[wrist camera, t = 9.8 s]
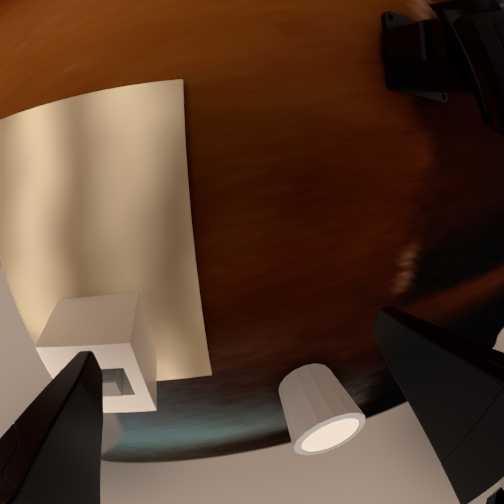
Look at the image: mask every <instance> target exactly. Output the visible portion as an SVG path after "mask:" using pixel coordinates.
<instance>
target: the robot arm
mask: <svg viewBox="0 0 504 504" xmlns="http://www.w3.org/2000/svg"><path fill="white" fill-rule="evenodd" d="M429 5H430V6H431V8H432V10H433V11H435V12H436V14H437V16H438V17H435V18H431V19H426V20H421V21H420V20H419V21H414V20H412V19H409V18H407V17H404V16H401V15H399V14H396V13H393V12H390V11H387V12H384V13H383V14H382V19H383V31H384V47H385V63H386V85H387V87H388V89H389V90H392V91H397V92H401V93H406V94H410V95H414V96H418V97H422V98H426V99H430V100H434V101H437V102H441V103H446V102H447V99H448V93H453V94H466V95H475V97H476V100H477V103H478V106H479V109H480V111H481V114H482V116H481V118H482V121H483V124H484V125H486V126H488V127H490V128H491V129H493V130H495V131H497V132H499V133H500V134H502V135H504V0H437V1H435V2H432V3H430V4H429ZM388 16H389V17H390V19H389V18H388ZM392 81H393V83H394V86H393V85H392ZM442 97H443V98H442ZM373 332H374V336H375V338H376V340H377V342H378V344H379V346H380V349H381V351H382V353H383V355H384V357H385V360H386V362H387V364H388V366H389V368H390V370H391V372H392V374H393V376H394V377H395V379H396V381H397V383H398V384H399V386H400V388H401V390H402V391H403V393H404V395H405V397H406V398H407V400H408V402H409V404H410V406H411V407H412V409H413V411H414V413H415V415H416V416H417V418H418V420H419V422H420V424H421V426H422V428H423V430H424V431H425V433H426V435H427V437H428V439H429V441H430V443H431V445H432V447H433V449H434V450H435V452H436V454H437V456H438V458H439V460H440V462H441V465H442V466H443V468H444V471H445V473H446V475H447V477H448V479H449V481H450V482H451V485H452V487H453V489H454V491H455V493H456V496H457V498H458V500H459V502H460V504H468V503H469V502H471V501H472V500H474V499H475V498H477V497H478V496H479V495H481V494H482V493H483V492H485V491H486V490H488V489H489V488H490V487H491V486H493V485H494V484H496V483H497V482H498V483H499V484H500V487H499V488H498V489H497V490H496V491H495V492H494V493H493V494H492V495H491V496H489V497H488V498H487V502H486V504H504V353H503V352H500V351H497V350H494V349H492V348H489V347H487V346H484V345H482V344H479V343H477V342H476V343H475V342H474V341H472V340H470V339H467V338H465V337H462V336H460V335H458V334H455V333H453V332H450V331H448V330H446V329H443V328H441V327H438V326H436V325H434V324H431V323H429V322H426V321H424V320H422V319H419V318H417V317H414V316H412V315H410V314H407V313H405V312H402V311H400V310H397V309H395V308H393V307H384V308H381V309H379V310H378V312H377V316H376V320H375V323H374V327H373ZM102 428H103V375H102V370H101V368H100V366H99V364H98V361H97V359H96V357H95V355H94V353H93V352H92V351H80V352H78V353H77V354H76V355H75V356H74V357H73V359H72V360H71V361H70V362H69V363H68V364H67V365H66V366H65V367H64V368H63V369H62V370H61V371H60V372H59V373H58V374H57V375H56V377H55V378H54V379H53V380H52V381H51V382H50V383H49V384H48V385H47V386H46V387H45V388H44V390H43V391H42V392H41V393H40V394H39V395H38V396H37V397H36V398H35V400H34V401H33V402H32V403H31V404H30V405H29V406H28V407H27V408H26V410H25V411H24V412H23V413H22V414H21V415H20V416H19V418H18V419H17V420H16V421H15V422H14V424H12V426H11V427H10V428H9V429H8V430H7V431H6V433H5V434H4V435H3V436H2V437H1V438H0V504H100V464H101V443H102Z"/></svg>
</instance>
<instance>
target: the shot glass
mask: <svg viewBox="0 0 504 504" xmlns="http://www.w3.org/2000/svg"><path fill="white" fill-rule="evenodd" d="M279 395H280V399H281V402H282V406H283V410H284V414H285V418H286V422H287V425H288V429H289V433H290V437H291V441H292V445H293V448H294V450H295V451H296V453H298V454H302V455H315V454H319V453H323V452H326V451H329V450H332V449H334V448H336V447H338V446H341V445H342V444H344V443H345V442H347V441H348V440H350V439H351V438H353V437H354V436H355V435H356V434H357V433H358V432H359V431H360V430H361V429H362V427H363V425H364V424H365V415H364V414H363V413H362V411H361V410H360V409H359V407H358V406H357V405H356V404H355V402H354V401H353V400H352V398H351V397H350V396H349V394H348V393H347V392H346V390H345V389H344V388H343V386H342V385H341V384H340V382H339V381H338V380H337V378H336V377H335V376H334V374H333V373H332V372H331V370H330V369H329V368H328V367H326V366H325V365H322V364H310V365H305V366H302V367H300V368H298V369H295V370H294V371H292V372H291V373H290V374H288V375H287V376H286V377H285V378H284V379H283V380H282V382H281V383H280V386H279Z"/></svg>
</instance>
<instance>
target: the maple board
mask: <svg viewBox="0 0 504 504" xmlns="http://www.w3.org/2000/svg"><path fill="white" fill-rule="evenodd" d="M0 262H1V265H2V268H3V271H4V274H5V277H6V280H7V282H8V285H9V288H10V290H11V293H12V295H13V298H14V300H15V303H16V305H17V307H18V310H19V312H20V315H21V317H22V319H23V321H24V323H25V325H26V328H27V330H28V332H29V334H30V336H31V338H32V340H33V342H34V344H35V346H36V344H37V342H38V340H39V337H40V335H41V333H42V331H43V329H44V327H45V325H46V323H47V321H48V319H49V317H50V315H51V313H52V311H53V309H54V307H55V305H56V303H57V301H58V300H59V299H70V298H81V297H91V296H101V295H111V294H120V293H130V292H139V296H140V300H141V304H142V308H143V312H144V316H145V319H146V323H147V327H148V330H149V334H150V337H151V341H152V344H153V347H154V351H155V354H156V357H157V381H161V380H172V379H182V378H191V377H199V376H207V375H212V373H211V367H210V360H209V354H208V348H207V341H206V335H205V328H204V321H203V314H202V306H201V299H200V291H199V283H198V275H197V266H196V257H195V248H194V239H193V229H192V218H191V208H190V196H189V183H188V170H187V155H186V139H185V119H184V93H183V79H178V80H168V81H159V82H151V83H143V84H136V85H130V86H123V87H118V88H112V89H107V90H102V91H97V92H92V93H88V94H83V95H79V96H75V97H71V98H67V99H63V100H59V101H55V102H52V103H48V104H45V105H42V106H38V107H35V108H32V109H29V110H26V111H23V112H20V113H17V114H14V115H11V116H9V117H6V118H3V119H1V120H0Z"/></svg>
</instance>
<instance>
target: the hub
mask: <svg viewBox="0 0 504 504" xmlns="http://www.w3.org/2000/svg"><path fill="white" fill-rule="evenodd" d="M35 348H36V350H37V352H38V354H39V356H40V357H41V360H42V361H43V363H44V365H45V367H46V368H47V370H48V372H49V374H50V375H51V377H52V379H54V378H55V377H56V375H57V374H58V373H59V372H60V371H61V370H62V369H63V368H64V367H65V366H66V365H67V364H68V363H69V362H70V361H71V360H72V359H73V357H74V356H75V355H76V354H77V353H78V352H80V351H92V352H93V353H94V355H95V357H96V359H97V361H98V364H99V366H100V368H101V369H114V368H124V370H125V373H124V382H123V391H122V396H103V413H117V412H143V411H157V397H156V383H157V357H156V354H155V351H154V347H153V344H152V341H151V337H150V334H149V330H148V327H147V323H146V319H145V316H144V312H143V308H142V304H141V300H140V296H139V292H130V293H120V294H111V295H101V296H91V297H81V298H70V299H59V300H58V301H57V303H56V305H55V307H54V309H53V311H52V313H51V315H50V317H49V319H48V321H47V323H46V325H45V327H44V329H43V331H42V333H41V335H40V337H39V340H38V342H37V344H36V346H35Z"/></svg>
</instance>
